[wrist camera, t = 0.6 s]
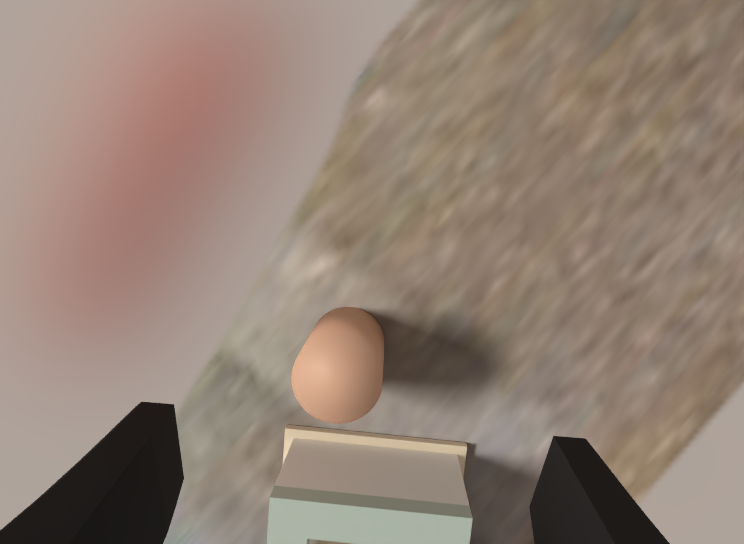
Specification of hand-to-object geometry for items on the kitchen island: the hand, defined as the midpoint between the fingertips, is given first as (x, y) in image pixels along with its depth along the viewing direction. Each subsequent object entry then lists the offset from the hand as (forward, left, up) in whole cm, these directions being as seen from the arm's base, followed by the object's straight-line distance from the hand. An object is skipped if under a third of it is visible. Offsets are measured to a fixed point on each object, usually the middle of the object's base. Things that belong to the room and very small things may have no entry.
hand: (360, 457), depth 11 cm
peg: (-3, +2, -19) cm, 20 cm away
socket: (-13, 0, -19) cm, 23 cm away
